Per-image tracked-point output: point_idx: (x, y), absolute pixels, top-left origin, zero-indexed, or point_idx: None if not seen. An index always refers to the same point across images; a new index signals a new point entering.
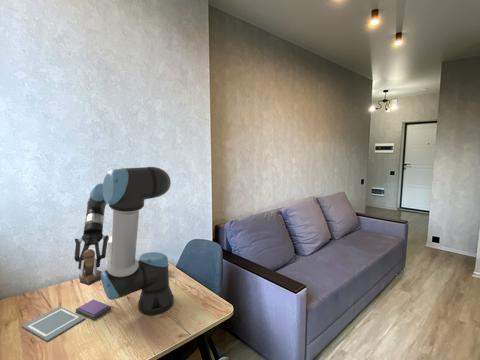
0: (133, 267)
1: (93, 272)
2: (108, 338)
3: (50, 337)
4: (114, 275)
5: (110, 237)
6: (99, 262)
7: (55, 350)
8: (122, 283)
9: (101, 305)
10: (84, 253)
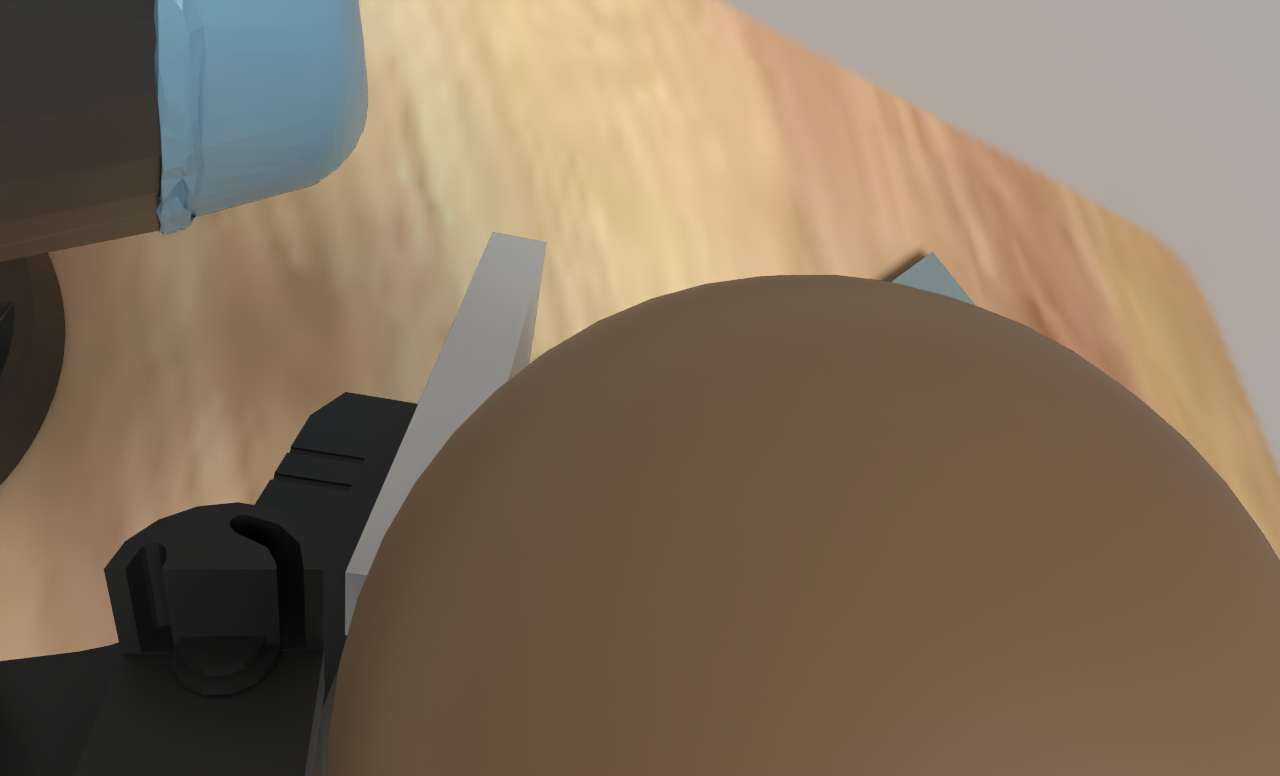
0: None
1: (528, 255)
2: (431, 40)
3: (915, 280)
4: None
5: None
6: (272, 481)
7: (834, 114)
8: None
9: None
10: (1206, 466)
